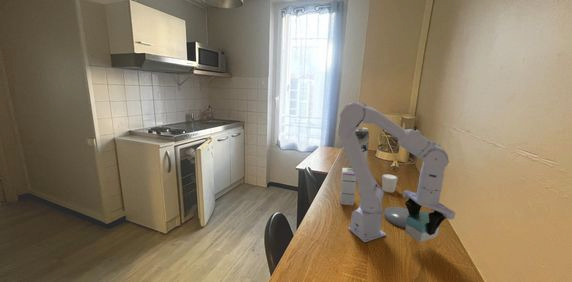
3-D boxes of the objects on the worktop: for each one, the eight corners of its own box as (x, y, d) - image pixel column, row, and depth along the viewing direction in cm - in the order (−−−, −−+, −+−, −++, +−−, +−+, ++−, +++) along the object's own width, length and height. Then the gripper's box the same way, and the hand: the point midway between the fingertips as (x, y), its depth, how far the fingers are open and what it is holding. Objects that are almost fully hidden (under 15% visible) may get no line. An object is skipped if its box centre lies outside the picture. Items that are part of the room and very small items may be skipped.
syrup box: (354, 205, 94) (357, 172, 91) (339, 204, 95) (342, 171, 92) (353, 199, 100) (356, 168, 96) (339, 198, 101) (341, 167, 97)
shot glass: (387, 193, 106) (388, 179, 104) (377, 187, 112) (379, 174, 111) (399, 192, 108) (401, 178, 106) (389, 186, 114) (390, 173, 113)
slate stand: (406, 232, 77) (406, 228, 76) (376, 214, 88) (377, 210, 88) (431, 224, 82) (431, 220, 82) (400, 207, 93) (400, 204, 93)
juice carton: (348, 175, 127) (352, 128, 121) (349, 169, 137) (353, 125, 131) (365, 177, 125) (370, 129, 119) (364, 171, 135) (369, 126, 129)
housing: (420, 242, 65) (423, 224, 64) (404, 232, 70) (407, 215, 68) (437, 235, 68) (441, 218, 67) (422, 226, 73) (424, 210, 72)
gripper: (465, 194, 61) (455, 239, 64) (415, 176, 74) (409, 213, 77) (449, 199, 58) (440, 245, 61) (400, 179, 71) (394, 218, 74)
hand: (422, 228), depth 68 cm, fingers closed on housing, 5 cm apart
